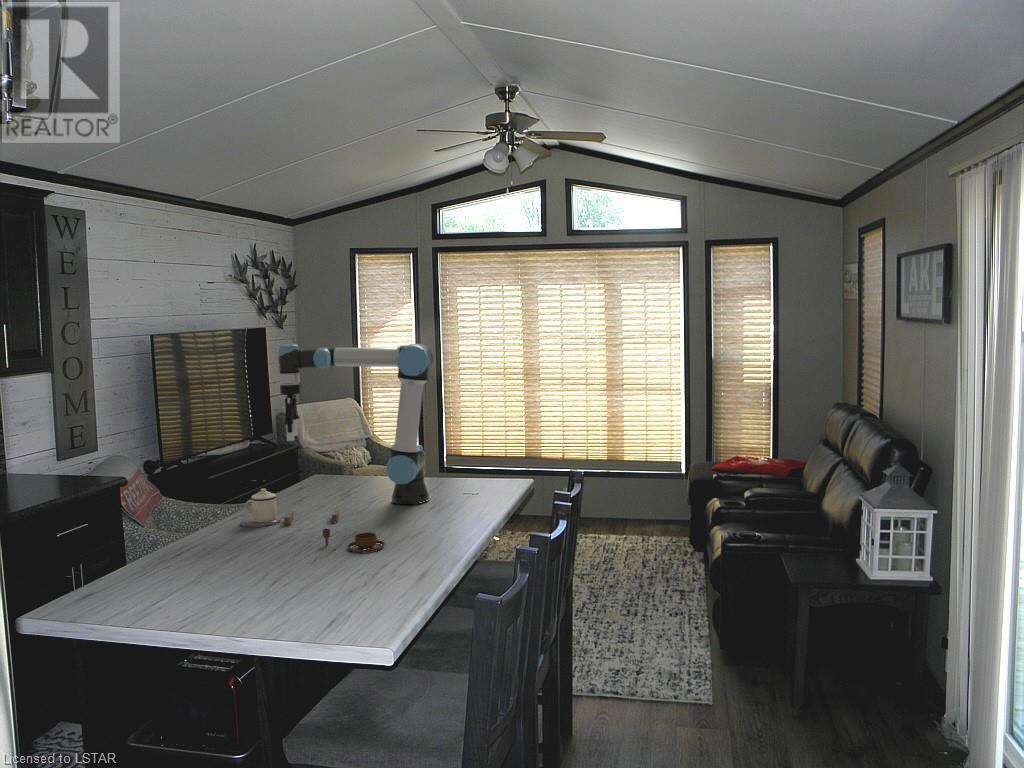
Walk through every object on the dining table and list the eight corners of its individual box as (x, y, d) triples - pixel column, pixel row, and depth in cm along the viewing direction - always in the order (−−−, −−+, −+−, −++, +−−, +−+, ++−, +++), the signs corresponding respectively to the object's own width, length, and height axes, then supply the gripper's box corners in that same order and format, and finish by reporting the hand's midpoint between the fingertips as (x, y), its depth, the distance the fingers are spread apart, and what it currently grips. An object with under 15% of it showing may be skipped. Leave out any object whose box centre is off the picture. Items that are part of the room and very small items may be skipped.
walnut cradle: (339, 516, 317) (338, 508, 317) (337, 522, 307) (337, 514, 307) (287, 519, 315) (287, 511, 314) (284, 525, 305) (284, 517, 304)
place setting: (352, 559, 263) (351, 541, 262) (319, 547, 277) (318, 530, 276) (398, 547, 275) (397, 530, 274) (364, 536, 289) (363, 520, 288)
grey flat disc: (282, 517, 318) (282, 514, 318) (277, 526, 304) (277, 523, 304) (244, 519, 316) (244, 516, 316) (237, 528, 302) (237, 525, 302)
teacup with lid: (282, 517, 314) (280, 486, 313) (269, 523, 305) (268, 491, 304) (253, 516, 316) (251, 485, 315) (240, 522, 308) (238, 491, 307)
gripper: (284, 381, 336) (286, 434, 338) (275, 387, 311) (278, 443, 313) (303, 381, 337) (305, 433, 339) (296, 386, 313) (299, 442, 314)
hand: (292, 438), depth 326 cm, fingers open, 13 cm apart
